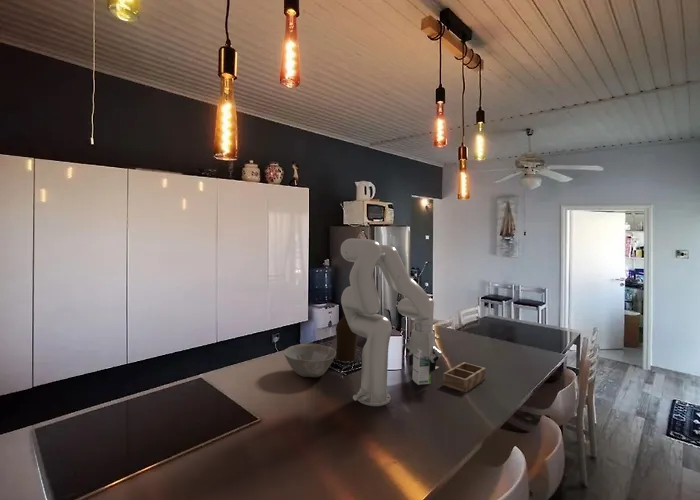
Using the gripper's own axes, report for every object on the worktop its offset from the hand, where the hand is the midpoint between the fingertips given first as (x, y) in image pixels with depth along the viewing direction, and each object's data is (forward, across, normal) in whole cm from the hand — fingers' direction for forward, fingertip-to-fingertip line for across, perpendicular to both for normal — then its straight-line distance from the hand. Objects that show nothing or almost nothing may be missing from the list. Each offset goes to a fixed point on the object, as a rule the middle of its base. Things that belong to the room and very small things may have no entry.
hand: (421, 367), depth 158 cm
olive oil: (+6, -39, -4) cm, 40 cm away
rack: (+6, +13, +13) cm, 19 cm away
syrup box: (+6, 0, 0) cm, 6 cm away
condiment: (+6, -7, +17) cm, 19 cm away
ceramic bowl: (+6, -38, -28) cm, 48 cm away
